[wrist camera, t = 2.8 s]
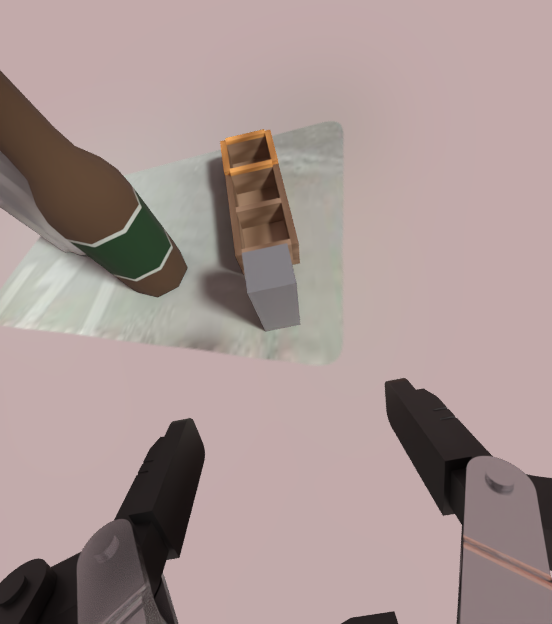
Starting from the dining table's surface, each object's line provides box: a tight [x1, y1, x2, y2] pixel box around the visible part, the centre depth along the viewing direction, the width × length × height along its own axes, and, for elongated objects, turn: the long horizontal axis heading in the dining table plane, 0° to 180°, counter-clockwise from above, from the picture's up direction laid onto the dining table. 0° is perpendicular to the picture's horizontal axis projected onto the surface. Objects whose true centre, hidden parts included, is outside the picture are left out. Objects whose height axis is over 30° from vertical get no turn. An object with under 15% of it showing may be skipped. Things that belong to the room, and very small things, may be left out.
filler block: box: [242, 243, 300, 331], centre depth 26 cm, size 4×4×10 cm
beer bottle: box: [0, 71, 187, 297], centre depth 23 cm, size 8×8×24 cm
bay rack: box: [220, 129, 300, 275], centre depth 35 cm, size 7×21×4 cm, turn 10°
